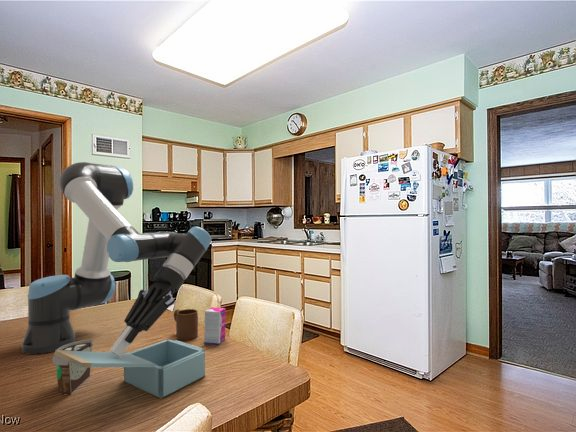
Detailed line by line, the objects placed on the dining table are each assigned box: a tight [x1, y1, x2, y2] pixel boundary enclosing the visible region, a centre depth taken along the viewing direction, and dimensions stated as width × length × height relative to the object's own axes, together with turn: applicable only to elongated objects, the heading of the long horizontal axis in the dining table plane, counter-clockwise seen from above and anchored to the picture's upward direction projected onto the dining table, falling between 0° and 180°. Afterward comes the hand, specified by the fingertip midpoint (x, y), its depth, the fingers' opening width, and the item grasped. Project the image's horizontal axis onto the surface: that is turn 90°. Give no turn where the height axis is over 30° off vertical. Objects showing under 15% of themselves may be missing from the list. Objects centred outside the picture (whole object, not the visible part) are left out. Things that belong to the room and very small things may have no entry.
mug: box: [173, 308, 199, 341], centre depth 124 cm, size 12×8×9 cm, turn 51°
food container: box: [51, 339, 94, 396], centre depth 87 cm, size 12×6×10 cm, turn 5°
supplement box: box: [203, 306, 227, 346], centre depth 118 cm, size 6×6×12 cm
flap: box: [53, 350, 155, 368], centre depth 78 cm, size 1×12×18 cm
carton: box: [123, 338, 206, 399], centre depth 91 cm, size 15×17×7 cm
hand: (114, 353), depth 79 cm, fingers closed
